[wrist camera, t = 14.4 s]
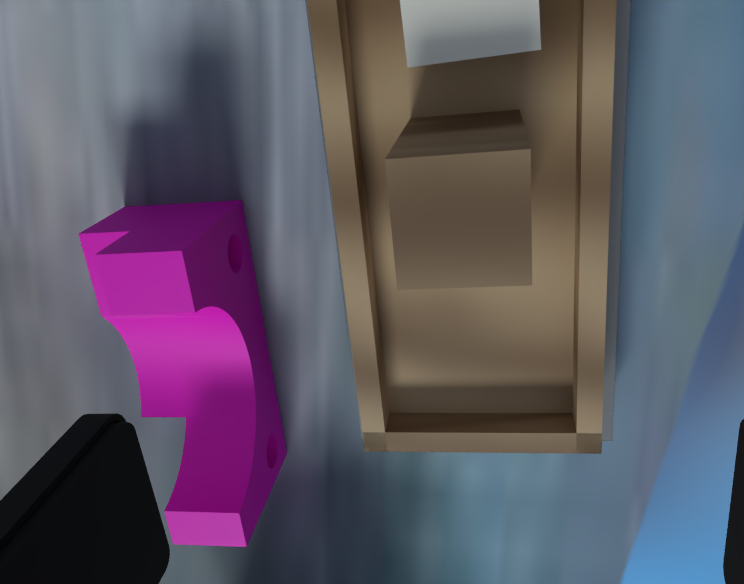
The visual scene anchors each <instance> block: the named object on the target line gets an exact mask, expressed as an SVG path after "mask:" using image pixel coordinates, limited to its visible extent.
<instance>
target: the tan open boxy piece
mask: <svg viewBox="0 0 744 584" xmlns="http://www.w3.org/2000/svg"><path fill="white" fill-rule="evenodd" d="M616 2H617V0H539V13H540V36H541V50H535V51H527V52H520V53H513V54H505V55H498V56H490V57H483V58H476V59H468V60H461V61H453V62H446V63H438V64H431V65H424V66H416V67H409V68H407V59H406V50H405V42H404V33H403V24H402V16H401V7H400V0H307V4H308V12H309V20H310V27H311V35H312V43H313V51H314V59H315V66H316V74H317V82H318V90H319V98H320V105H321V113H322V121H323V129H324V137H325V144H326V152H327V160H328V168H329V176H330V183H331V191H332V199H333V207H334V215H335V223H336V230H337V238H338V246H339V254H340V262H341V269H342V277H343V285H344V293H345V301H346V308H347V316H348V324H349V332H350V340H351V347H352V355H353V363H354V371H355V379H356V386H357V394H358V402H359V410H360V418H361V425H362V433H363V441H364V449H365V451H386V452H490V453H594V454H601V447H602V417H603V387H604V358H605V328H606V298H607V269H608V239H609V209H610V180H611V150H612V120H613V91H614V61H615V31H616Z"/></svg>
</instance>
